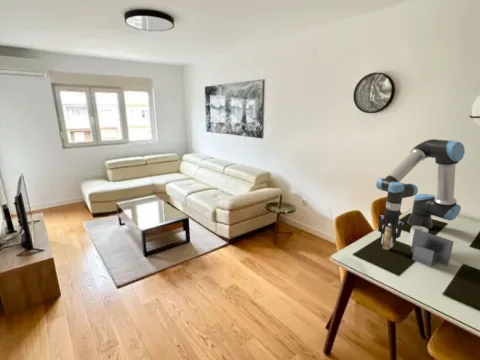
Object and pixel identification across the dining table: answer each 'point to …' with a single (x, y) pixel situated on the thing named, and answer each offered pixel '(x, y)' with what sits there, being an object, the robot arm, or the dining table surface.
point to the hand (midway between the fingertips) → (386, 245)
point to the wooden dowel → (387, 237)
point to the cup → (414, 230)
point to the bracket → (430, 248)
